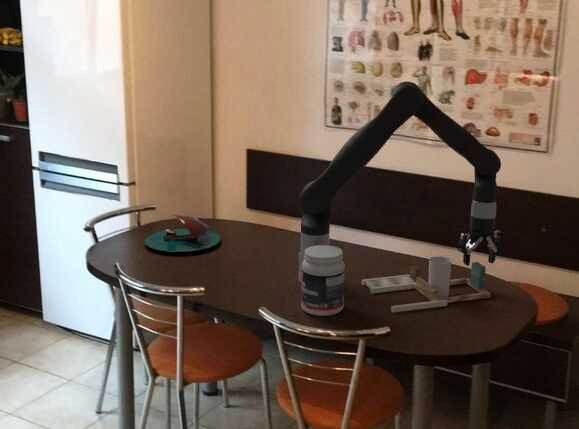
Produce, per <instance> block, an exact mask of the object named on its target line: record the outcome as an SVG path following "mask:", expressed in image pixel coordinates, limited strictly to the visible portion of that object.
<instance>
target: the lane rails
mask: <svg viewBox="0 0 579 429" xmlns="http://www.w3.org/2000/svg"><path fill="white" fill-rule="evenodd" d="M409 276H410V274H403V275H402V274H401V275H393V276H384V277H375V278H365V279H362V280H361V285H362V286H366V285H365V281H373V280H382V279H391V278H400V277H409ZM415 284H416V282H415V283H406V284H398V285H389V286H380V287H372V288H371V290H370V293H371V294H377V293H387V292H389V293H390V292H395V291H396V292H397V291H405V290H412V289H413V290H414V289H415V288H414V287H415ZM447 302H448V301H447V300H438V301H430V300H429V301H424V302H415V303H406V304H400V305H399V304H398V305H391V309H390V310H391V313H399V312H400V313H401V312H407V311H414V310H415V311H416V310H423V309H431V308H438V307H448V303H447Z"/></svg>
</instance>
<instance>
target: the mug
mask: <svg viewBox="0 0 579 429" xmlns="http://www.w3.org/2000/svg"><path fill="white" fill-rule="evenodd" d="M428 260H429V261H428V281H427V283H428V284H430V285H431V286H432V287H434V288H435V289H436V290H437V298H445V297H450V296H449V294H450V286H451V285H450V280H451V272H452V270H451V269H452V259H451V258H449V257H446V256H438V255H437V256H432V257H430V258H429V259H428Z"/></svg>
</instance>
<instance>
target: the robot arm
mask: <svg viewBox="0 0 579 429" xmlns="http://www.w3.org/2000/svg"><path fill="white" fill-rule="evenodd" d="M412 117H415V118H417V119H418V120H419V121H421V122H422V123H424V124H425V125H426V126H427V128H429V129H430V130H431V131H432V132H433V133H434V134H435V136H437V137H438V138H439V139H440V140H441V141H442V142H443V143H444V144H446V145H447V146H448V147H449V148H451V150H453V151H454V152H455V153H456V154H458V155H459V156H461V157H463V158H464V159H465V160H466V161H467V163H469V164H470V165H471V166H472V167H473V168H474V185H473V186H474V187H473V194H472V201H471V208H470V209H471V210H470V220H469V232H468V233H464V232H461V233H460V234H459V238H458V239H459V240H458V246H457V251H459V252H461V253H462V254H463V255H462V256H463V257H462V262H463V264H464V265H465V266H470V264H471V253H472V252H473V251H474V250H475V249H476V248H477V247H479V248H481V247H488V249H489V250H488V259H487V260H488V263H489V264H494V263H495V261H496V256H497V251H502V250H503V244H504V242H503V240H504V238H503V237H504V232H503V231H501V230H499V229H496V230H495V228H496V219H497V218H496V216H497V195H498V185H497V173H498V172H500V170H501V167H502V161H501V159H500V157H499V156H498V154H497V152H495V151H494V150H493V149H490V148H488V147H486V146H485V145H484V144H482V143H481V142H480V141H479V139H477V137H476V136H474V135H473V134H472V133H471V132H470V131H468V130H467V129H466V128H465V127H463V126H462V125H461V124H460V123H458V122H457V121H455V120H454V119H453V118H451V117H450V115H448V114H446V113H445V112H444V111H443V110H441V109H440V108H439V107H438V106H437V105H436V104H434V102H433V101H431V100H430V99H429V97H427V95H426V94H425V92H423V90H422V89H421V88H420V86H419V85H418V84H416V83H415V82H412V81H402V82H400V83H398V84H397V85H396V86H395V87H394V88H393V91H392V93H391V97H390V99H389V100H388V102H387V103H386V104H385V105H384V107H383V108H382V109H381V110H380V111H379V113H378V114H377V115H376V116H374V117H373V118H372V119H371V120H369V121H368V122H366V123H365V124H364V125H363V126H362V127H360V128H359V129H358V130H357V131H356V132H354V134H353V135H352V136H350V138H348V139H347V141H346V142H345V143H344V145H342V147H341V148H340V149H339V150H338V152H337V153H336V155H335V156H334V157H333V159H332V160H331V162H330V163H329V165H328V166H327V168H326V169H325V170H324V171H323V172H322V174H320V175H319V176H318V177H317V178H316V179H315V180H312V181H310V182H308V183H307V184H306V185H305V186H304V188H303V189H302V191H301V192H300V195H299V205H300V207H301V208H300V209H301V210H302V215H301V221H300V252H299V253H298V267H297V268H298V278H297V279H298V281H299V282H300V284H302V262H303V261H304V259H305V258H304V252H305V250H306V249H307V248H309V247H312V246H318V245H327V246H330V233H331V232H330V227H331V219H332V218H331V217H332V215H331V214H332V200H333V199H334V198H335V196H336V195H337V194H338V193H339V191H340V190H341V189H342V188H343V187H344V186H345V185H346V184H347V183H349V182H350V180H352V179H353V178H354V177H355V176H356V175H357V174H358V173H360V171H361V170H363V169H364V168H365V167H366V166H367V165H368V164H369V163H370V162H371V161H372V159H373V158H375V156H377V154H378V153H379V151H380V150H381V149H382V148H383V147H384V146H385V145H386V143H387V142H388V141H389V140H390V138H391V137H392V135H393V134H394V133H395V132H396V131H397V130H398V129H400V127H401V126H402V125H404V124H405V123H407V121H408V120H410V119H411V118H412ZM493 238H494V242H493V240H492V239H493ZM467 241H468V242H467Z"/></svg>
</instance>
